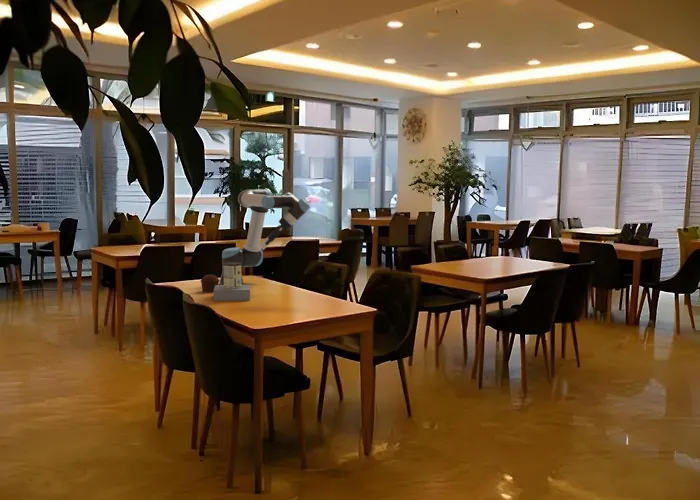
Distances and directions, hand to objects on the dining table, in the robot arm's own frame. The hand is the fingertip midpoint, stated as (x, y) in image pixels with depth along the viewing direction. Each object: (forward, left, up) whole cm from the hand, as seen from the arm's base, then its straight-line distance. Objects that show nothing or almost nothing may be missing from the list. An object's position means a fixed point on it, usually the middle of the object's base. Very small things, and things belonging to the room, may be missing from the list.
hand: (261, 247), depth 386 cm
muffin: (-20, -31, -29) cm, 47 cm away
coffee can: (+4, -17, -23) cm, 29 cm away
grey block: (+5, -17, -29) cm, 34 cm away
